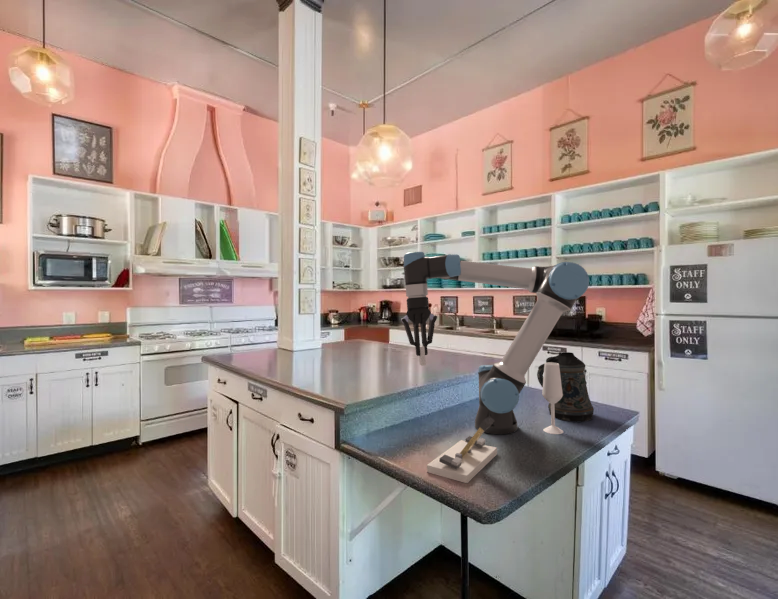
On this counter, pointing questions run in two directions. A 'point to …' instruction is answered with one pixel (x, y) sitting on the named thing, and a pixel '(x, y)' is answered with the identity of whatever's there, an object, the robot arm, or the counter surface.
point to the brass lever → (477, 434)
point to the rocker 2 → (477, 442)
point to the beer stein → (570, 389)
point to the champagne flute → (552, 392)
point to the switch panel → (463, 462)
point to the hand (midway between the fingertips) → (422, 364)
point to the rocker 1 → (451, 461)
